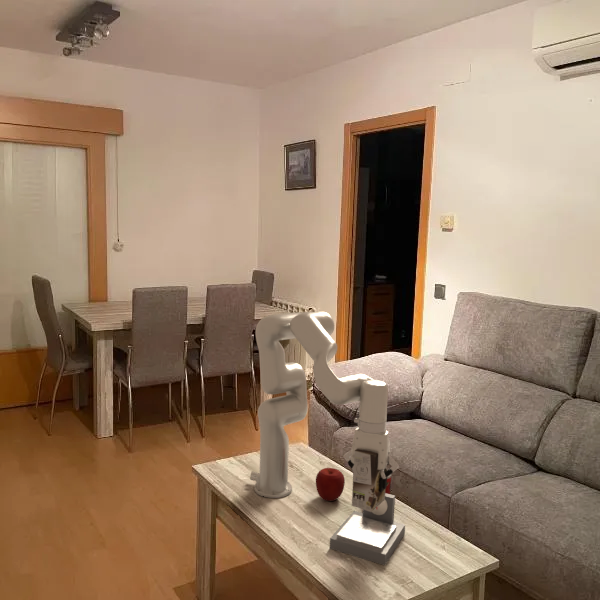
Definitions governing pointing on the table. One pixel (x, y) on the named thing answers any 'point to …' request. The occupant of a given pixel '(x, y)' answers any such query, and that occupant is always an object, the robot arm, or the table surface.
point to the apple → (330, 484)
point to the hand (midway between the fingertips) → (369, 486)
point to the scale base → (379, 514)
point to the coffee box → (366, 481)
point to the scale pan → (367, 532)
